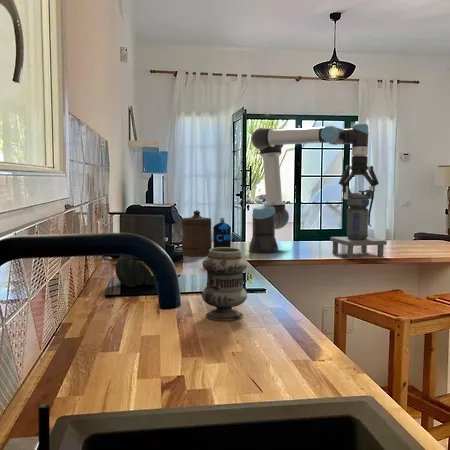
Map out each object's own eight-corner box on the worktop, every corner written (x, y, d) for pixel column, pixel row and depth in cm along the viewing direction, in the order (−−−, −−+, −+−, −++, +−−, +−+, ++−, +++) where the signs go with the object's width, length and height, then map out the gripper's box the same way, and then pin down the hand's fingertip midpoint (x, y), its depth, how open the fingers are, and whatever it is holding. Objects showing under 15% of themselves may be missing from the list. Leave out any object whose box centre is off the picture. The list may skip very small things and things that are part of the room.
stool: (348, 258, 228) (348, 241, 228) (330, 252, 248) (330, 237, 247) (386, 257, 233) (386, 240, 232) (365, 251, 252) (365, 236, 251)
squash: (163, 273, 160) (157, 236, 168) (117, 277, 156) (113, 239, 164) (159, 294, 171) (154, 259, 179) (116, 298, 167) (113, 262, 175)
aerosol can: (210, 261, 218) (210, 217, 216) (226, 260, 221) (226, 217, 220) (217, 264, 211) (217, 218, 209) (234, 263, 214) (234, 218, 212)
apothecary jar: (226, 325, 120) (226, 253, 119) (192, 316, 128) (192, 249, 126) (256, 315, 129) (256, 248, 127) (222, 307, 137) (223, 245, 135)
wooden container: (194, 251, 251) (194, 209, 249) (217, 254, 243) (217, 210, 241) (175, 255, 239) (175, 210, 237) (199, 257, 230) (199, 211, 229)
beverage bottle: (371, 240, 233) (373, 188, 230) (343, 239, 237) (345, 188, 235) (373, 238, 242) (374, 188, 240) (346, 237, 247) (347, 188, 245)
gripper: (339, 155, 230) (338, 199, 232) (386, 155, 235) (385, 199, 237) (332, 155, 237) (331, 198, 239) (378, 156, 242) (377, 198, 244)
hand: (358, 199), depth 238 cm, fingers open, 13 cm apart
